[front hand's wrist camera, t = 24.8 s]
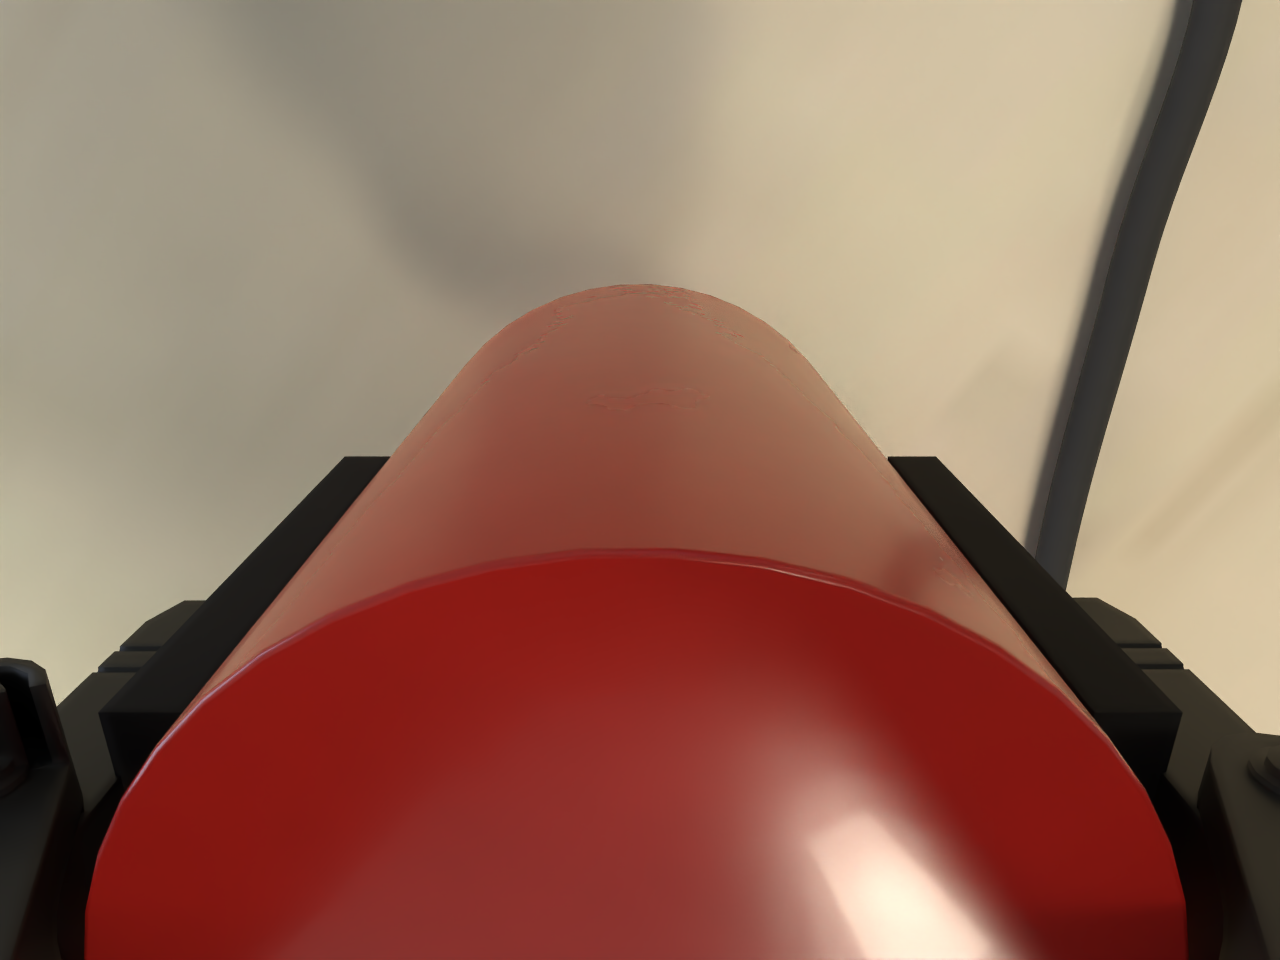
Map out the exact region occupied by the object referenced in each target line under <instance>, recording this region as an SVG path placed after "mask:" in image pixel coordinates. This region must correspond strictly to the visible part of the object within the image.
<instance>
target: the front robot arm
mask: <svg viewBox="0 0 1280 960" xmlns="http://www.w3.org/2000/svg"><path fill="white" fill-rule="evenodd" d="M1241 3H1242V0H1194V1H1193V5H1192V10H1191V14H1190V18H1189V23H1188V27H1187V30H1186V34H1185V37H1184V41H1183V44H1182V48H1181V51H1180V55H1179V58H1178V61H1177V64H1176V67H1175V70H1174V73H1173V77H1172V80H1171V83H1170V86H1169V89H1168V91H1167V94H1166V97H1165V100H1164V103H1163V106H1162V109H1161V111H1160V114H1159V117H1158V120H1157V123H1156V125H1155V128H1154V131H1153V134H1152V136H1151V139H1150V142H1149V145H1148V148H1147V150H1146V153H1145V156H1144V159H1143V161H1142V164H1141V167H1140V170H1139V173H1138V176H1137V179H1136V181H1135V184H1134V187H1133V190H1132V193H1131V196H1130V199H1129V202H1128V205H1127V208H1126V212H1125V215H1124V218H1123V221H1122V224H1121V228H1120V231H1119V234H1118V238H1117V242H1116V245H1115V249H1114V252H1113V256H1112V260H1111V263H1110V267H1109V271H1108V275H1107V279H1106V283H1105V286H1104V290H1103V294H1102V298H1101V302H1100V306H1099V309H1098V313H1097V317H1096V321H1095V324H1094V328H1093V332H1092V335H1091V339H1090V343H1089V346H1088V350H1087V354H1086V357H1085V361H1084V365H1083V368H1082V372H1081V376H1080V379H1079V383H1078V386H1077V390H1076V394H1075V397H1074V401H1073V405H1072V408H1071V412H1070V416H1069V419H1068V423H1067V427H1066V430H1065V434H1064V438H1063V442H1062V445H1061V449H1060V453H1059V457H1058V461H1057V465H1056V469H1055V473H1054V477H1053V481H1052V485H1051V489H1050V493H1049V497H1048V502H1047V506H1046V510H1045V515H1044V519H1043V524H1042V528H1041V533H1040V538H1039V542H1038V547H1037V552H1036V557H1035V559H1034V558H1033V557H1032V556H1031V555H1030V554H1029V553H1028V552H1027V551H1026V550H1025V548H1024V547H1023V546H1022V545H1021V544H1020V543H1019V542H1018V541H1017V540H1016V539H1015V538H1014V537H1013V536H1012V535H1011V534H1010V533H1009V532H1008V531H1007V530H1006V529H1005V528H1004V527H1003V526H1002V525H1001V524H1000V523H999V522H998V521H997V519H996V518H995V517H994V516H993V515H992V514H991V513H990V512H989V511H988V510H987V509H986V508H985V507H984V506H983V505H982V504H981V503H980V502H979V501H978V500H977V499H976V498H975V497H974V496H973V495H972V494H971V493H970V492H969V490H968V489H967V488H966V487H965V486H964V485H963V484H962V483H961V482H960V481H959V480H958V479H957V478H956V477H955V476H954V475H953V474H952V473H951V472H950V471H949V470H948V469H947V468H946V467H945V466H944V465H943V464H942V462H941V461H940V460H939V459H938V458H937V457H888V462H889V463H890V464H891V465H892V467H893V468H894V469H895V470H896V472H897V473H898V474H899V475H900V477H901V478H902V479H903V480H904V482H905V483H906V484H907V485H908V487H909V488H910V489H911V490H912V492H913V493H914V494H915V495H916V497H917V498H918V499H919V500H920V502H921V503H922V504H923V505H924V507H925V508H926V509H927V510H928V512H929V513H930V514H931V515H932V517H933V518H934V519H935V520H936V522H937V523H938V524H939V525H940V527H941V528H942V529H943V530H944V532H945V533H946V534H947V535H948V537H949V538H950V539H951V540H952V542H953V543H954V544H955V545H956V547H957V548H958V549H959V550H960V552H961V553H962V554H963V555H964V557H965V558H966V559H967V560H968V562H969V563H970V564H971V565H972V567H973V568H974V569H975V570H976V572H977V573H978V574H979V575H980V577H981V578H982V579H983V580H984V582H985V583H986V584H987V585H988V587H989V588H990V589H991V590H992V592H993V593H994V594H995V595H996V597H997V598H998V599H999V600H1000V602H1001V603H1002V604H1003V605H1004V607H1005V608H1006V609H1007V610H1008V612H1009V613H1010V614H1011V615H1012V617H1013V618H1014V619H1015V620H1016V622H1017V623H1018V624H1019V625H1020V627H1021V628H1022V629H1023V630H1024V632H1025V633H1026V634H1027V635H1028V637H1029V638H1030V639H1031V640H1032V642H1033V643H1034V644H1035V645H1036V647H1037V648H1038V649H1039V650H1040V652H1041V653H1042V654H1043V656H1044V657H1045V658H1046V659H1047V661H1048V662H1049V663H1050V664H1051V666H1052V667H1053V668H1054V669H1055V671H1056V672H1057V673H1058V674H1059V676H1060V677H1061V678H1062V679H1063V681H1064V682H1065V683H1066V684H1067V686H1068V687H1069V688H1070V689H1071V691H1072V692H1073V693H1074V694H1075V696H1076V697H1077V698H1078V699H1079V701H1080V702H1081V703H1082V704H1083V706H1084V707H1085V708H1086V709H1087V711H1088V712H1089V713H1090V714H1091V716H1092V717H1093V718H1094V719H1095V721H1096V722H1097V723H1098V724H1099V726H1100V727H1101V728H1102V729H1103V731H1104V732H1105V733H1106V734H1107V736H1108V737H1109V738H1110V740H1111V741H1112V743H1113V744H1114V745H1115V747H1116V748H1117V750H1118V751H1119V752H1120V754H1121V755H1122V757H1123V758H1124V759H1125V761H1126V762H1127V764H1128V765H1129V766H1130V768H1131V769H1132V771H1133V772H1134V773H1135V775H1136V776H1137V778H1138V779H1139V781H1140V782H1141V783H1142V785H1143V786H1144V788H1145V789H1146V791H1147V793H1148V795H1149V798H1150V800H1151V802H1152V804H1153V806H1154V808H1155V810H1156V813H1157V815H1158V817H1159V819H1160V821H1161V823H1162V825H1163V827H1164V830H1165V832H1166V834H1167V836H1168V838H1169V840H1170V842H1171V846H1172V850H1173V854H1174V858H1175V861H1176V865H1177V869H1178V873H1179V877H1180V881H1181V885H1182V889H1183V892H1184V896H1185V901H1186V915H1187V932H1188V948H1189V960H1280V736H1278V735H1270V734H1261V733H1256V732H1255V731H1254V730H1253V729H1251V728H1250V727H1249V726H1248V725H1247V724H1246V723H1245V722H1244V721H1243V720H1242V719H1241V718H1240V717H1239V716H1238V715H1237V714H1236V713H1235V712H1234V711H1232V710H1231V709H1230V708H1229V707H1228V706H1227V705H1226V704H1225V703H1224V702H1223V701H1222V700H1221V699H1220V698H1219V697H1218V696H1217V695H1216V694H1214V693H1213V692H1212V691H1211V690H1210V689H1209V688H1208V687H1207V686H1206V685H1205V684H1204V683H1203V682H1202V681H1201V680H1200V679H1199V678H1198V677H1197V676H1195V675H1194V674H1193V673H1192V672H1191V671H1190V670H1189V669H1184V668H1183V663H1182V662H1181V661H1180V660H1179V659H1177V658H1176V657H1175V656H1174V655H1173V654H1172V653H1171V652H1170V651H1169V650H1168V649H1167V648H1162V646H1161V644H1162V643H1161V642H1160V641H1158V640H1157V639H1156V638H1155V637H1154V636H1153V635H1152V634H1151V633H1150V632H1149V631H1148V630H1147V629H1146V628H1145V627H1144V626H1143V625H1142V624H1140V623H1139V622H1138V621H1137V620H1136V619H1135V618H1133V617H1131V616H1129V615H1128V614H1126V613H1124V612H1122V611H1120V610H1118V609H1117V608H1115V607H1113V606H1111V605H1109V604H1107V603H1106V602H1104V601H1102V600H1100V599H1098V598H1072V597H1071V596H1070V595H1069V594H1068V593H1067V592H1066V586H1067V582H1068V577H1069V573H1070V568H1071V564H1072V559H1073V555H1074V550H1075V546H1076V541H1077V537H1078V533H1079V529H1080V525H1081V520H1082V516H1083V512H1084V508H1085V504H1086V501H1087V497H1088V493H1089V489H1090V485H1091V482H1092V478H1093V474H1094V470H1095V467H1096V463H1097V460H1098V456H1099V452H1100V449H1101V445H1102V442H1103V438H1104V435H1105V431H1106V428H1107V424H1108V421H1109V418H1110V414H1111V411H1112V407H1113V404H1114V401H1115V397H1116V394H1117V390H1118V387H1119V384H1120V380H1121V377H1122V373H1123V370H1124V366H1125V363H1126V360H1127V356H1128V353H1129V349H1130V346H1131V342H1132V339H1133V336H1134V332H1135V329H1136V325H1137V322H1138V318H1139V314H1140V311H1141V307H1142V304H1143V300H1144V297H1145V293H1146V289H1147V286H1148V282H1149V279H1150V275H1151V271H1152V268H1153V264H1154V261H1155V258H1156V254H1157V251H1158V247H1159V244H1160V241H1161V237H1162V234H1163V231H1164V228H1165V225H1166V222H1167V219H1168V216H1169V213H1170V210H1171V207H1172V204H1173V201H1174V199H1175V196H1176V193H1177V190H1178V188H1179V185H1180V182H1181V179H1182V176H1183V174H1184V171H1185V168H1186V166H1187V163H1188V160H1189V158H1190V155H1191V153H1192V150H1193V147H1194V145H1195V142H1196V139H1197V137H1198V134H1199V131H1200V129H1201V126H1202V123H1203V121H1204V118H1205V116H1206V113H1207V110H1208V107H1209V105H1210V102H1211V99H1212V96H1213V94H1214V91H1215V88H1216V85H1217V83H1218V80H1219V77H1220V74H1221V71H1222V68H1223V65H1224V62H1225V59H1226V56H1227V53H1228V49H1229V46H1230V43H1231V39H1232V36H1233V33H1234V29H1235V26H1236V23H1237V19H1238V15H1239V11H1240V7H1241ZM389 458H390V457H344V458H343V459H342V460H341V461H340V462H339V463H338V464H337V465H336V466H335V467H334V468H333V469H332V470H331V471H330V472H329V473H328V475H327V476H326V477H325V478H324V479H323V480H322V481H321V482H320V483H319V484H318V485H317V486H316V487H315V488H314V489H313V490H312V491H311V492H310V493H309V494H308V495H307V496H306V497H305V498H304V499H303V500H302V501H301V503H300V504H299V505H298V506H297V507H296V508H295V509H294V510H293V511H292V512H291V513H290V514H289V515H288V516H287V517H286V518H285V519H284V520H283V521H282V522H281V523H280V524H279V525H278V526H277V527H276V528H275V529H274V530H273V532H272V533H271V534H270V535H269V536H268V537H267V538H266V539H265V540H264V541H263V542H262V543H261V544H260V545H259V546H258V547H257V548H256V549H255V550H254V551H253V552H252V553H251V554H250V555H249V556H248V557H247V558H246V560H245V561H244V562H243V563H242V564H241V565H240V566H239V567H238V568H237V569H236V570H235V571H234V572H233V573H232V574H231V575H230V576H229V577H228V578H227V579H226V580H225V581H224V582H223V583H222V584H221V585H220V586H219V587H218V589H217V590H216V591H215V592H214V593H213V594H212V595H211V596H210V597H209V598H208V599H207V600H206V601H183V602H181V603H179V604H177V605H175V606H174V607H172V608H170V609H168V610H166V611H164V612H163V613H161V614H159V615H157V616H155V617H154V618H152V619H150V620H148V621H146V622H145V623H144V624H143V625H142V626H141V627H140V628H139V629H138V630H137V631H136V632H135V633H134V634H133V635H131V636H130V637H129V638H128V639H127V640H126V641H125V642H124V643H123V644H122V645H121V646H120V651H115V652H114V653H113V654H112V655H110V656H109V657H108V658H107V659H106V660H105V661H104V662H103V663H102V664H101V665H100V666H99V667H98V672H97V673H92V674H91V675H90V676H88V677H87V678H86V679H85V680H84V681H83V682H82V683H81V684H80V685H79V686H78V687H77V688H76V689H75V690H74V691H73V692H72V693H71V694H70V695H69V696H67V697H66V698H65V699H64V700H63V701H62V702H61V703H60V704H59V705H58V706H57V707H56V704H55V700H54V697H53V694H52V690H51V687H50V684H49V680H48V677H47V674H46V670H45V669H44V668H42V667H41V666H39V665H37V664H36V663H34V662H33V661H30V660H22V659H14V658H0V960H84V937H85V910H86V905H87V900H88V896H89V891H90V886H91V882H92V877H93V873H94V868H95V864H96V859H97V855H98V851H99V848H100V846H101V844H102V841H103V839H104V837H105V834H106V832H107V830H108V827H109V825H110V823H111V820H112V818H113V816H114V814H115V811H116V809H117V807H118V804H119V802H120V800H121V797H122V796H123V794H124V793H125V791H126V790H127V788H128V787H129V785H130V784H131V782H132V781H133V779H134V778H135V776H136V775H137V773H138V772H139V770H140V769H141V767H142V766H143V764H144V763H145V761H146V760H147V758H148V757H149V755H150V754H151V752H152V751H153V749H154V748H155V746H156V745H157V743H158V742H159V741H160V740H161V738H162V737H163V736H164V735H165V734H166V732H167V731H168V730H169V729H170V727H171V726H172V725H173V724H174V722H175V721H176V720H177V719H178V718H179V716H180V715H181V714H182V713H183V711H184V710H185V709H186V708H187V707H188V705H189V704H190V703H191V702H192V700H193V699H194V698H195V697H196V695H197V694H198V693H199V692H200V691H201V689H202V688H203V687H204V686H205V684H206V683H207V682H208V681H209V679H210V678H211V677H212V676H213V675H214V673H215V672H216V671H217V670H218V668H219V667H220V666H221V665H222V664H223V662H224V661H225V660H226V659H227V657H228V656H229V655H230V654H231V652H232V651H233V650H234V649H235V648H236V646H237V645H238V644H239V643H240V641H241V640H242V639H243V638H244V637H245V635H246V634H247V633H248V632H249V630H250V629H251V628H252V627H253V625H254V624H255V623H256V622H257V621H258V619H259V618H260V617H261V616H262V614H263V613H264V612H265V611H266V609H267V608H268V607H269V606H270V605H271V603H272V602H273V601H274V600H275V598H276V597H277V596H278V595H279V594H280V592H281V591H282V590H283V589H284V587H285V586H286V585H287V584H288V582H289V581H290V580H291V579H292V578H293V576H294V575H295V574H296V573H297V571H298V570H299V569H300V568H301V566H302V565H303V564H304V563H305V562H306V560H307V559H308V558H309V557H310V555H311V554H312V553H313V552H314V551H315V549H316V548H317V547H318V546H319V544H320V543H321V542H322V541H323V539H324V538H325V537H326V536H327V535H328V533H329V532H330V531H331V530H332V528H333V527H334V526H335V525H336V524H337V522H338V521H339V520H340V519H341V517H342V516H343V515H344V514H345V512H346V511H347V510H348V509H349V508H350V506H351V505H352V504H353V503H354V501H355V500H356V499H357V498H358V496H359V495H360V494H361V493H362V492H363V490H364V489H365V488H366V487H367V485H368V484H369V483H370V482H371V481H372V479H373V478H374V477H375V476H376V474H377V473H378V472H379V471H380V469H381V468H382V467H383V466H384V465H385V463H386V462H387V461H388V460H389Z"/></svg>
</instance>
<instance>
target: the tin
mask: <svg viewBox="0 0 1280 960" xmlns="http://www.w3.org/2000/svg"><path fill="white" fill-rule="evenodd" d="M84 960H1189V948H1188V932H1187V915H1186V901H1185V896H1184V892H1183V889H1182V885H1181V881H1180V877H1179V873H1178V869H1177V865H1176V861H1175V858H1174V854H1173V850H1172V846H1171V842H1170V840H1169V838H1168V836H1167V834H1166V832H1165V830H1164V827H1163V825H1162V823H1161V821H1160V819H1159V817H1158V815H1157V813H1156V810H1155V808H1154V806H1153V804H1152V802H1151V800H1150V798H1149V795H1148V793H1147V791H1146V789H1145V788H1144V786H1143V785H1142V783H1141V782H1140V781H1139V779H1138V778H1137V776H1136V775H1135V773H1134V772H1133V771H1132V769H1131V768H1130V766H1129V765H1128V764H1127V762H1126V761H1125V759H1124V758H1123V757H1122V755H1121V754H1120V752H1119V751H1118V750H1117V748H1116V747H1115V745H1114V744H1113V743H1112V741H1111V740H1110V738H1109V737H1108V736H1107V734H1106V733H1105V732H1104V731H1103V729H1102V728H1101V727H1100V726H1099V724H1098V723H1097V722H1096V721H1095V719H1094V718H1093V717H1092V716H1091V714H1090V713H1089V712H1088V711H1087V709H1086V708H1085V707H1084V706H1083V704H1082V703H1081V702H1080V701H1079V699H1078V698H1077V697H1076V696H1075V694H1074V693H1073V692H1072V691H1071V689H1070V688H1069V687H1068V686H1067V684H1066V683H1065V682H1064V681H1063V679H1062V678H1061V677H1060V676H1059V674H1058V673H1057V672H1056V671H1055V669H1054V668H1053V667H1052V666H1051V664H1050V663H1049V662H1048V661H1047V659H1046V658H1045V657H1044V656H1043V654H1042V653H1041V652H1040V650H1039V649H1038V648H1037V647H1036V645H1035V644H1034V643H1033V642H1032V640H1031V639H1030V638H1029V637H1028V635H1027V634H1026V633H1025V632H1024V630H1023V629H1022V628H1021V627H1020V625H1019V624H1018V623H1017V622H1016V620H1015V619H1014V618H1013V617H1012V615H1011V614H1010V613H1009V612H1008V610H1007V609H1006V608H1005V607H1004V605H1003V604H1002V603H1001V602H1000V600H999V599H998V598H997V597H996V595H995V594H994V593H993V592H992V590H991V589H990V588H989V587H988V585H987V584H986V583H985V582H984V580H983V579H982V578H981V577H980V575H979V574H978V573H977V572H976V570H975V569H974V568H973V567H972V565H971V564H970V563H969V562H968V560H967V559H966V558H965V557H964V555H963V554H962V553H961V552H960V550H959V549H958V548H957V547H956V545H955V544H954V543H953V542H952V540H951V539H950V538H949V537H948V535H947V534H946V533H945V532H944V530H943V529H942V528H941V527H940V525H939V524H938V523H937V522H936V520H935V519H934V518H933V517H932V515H931V514H930V513H929V512H928V510H927V509H926V508H925V507H924V505H923V504H922V503H921V502H920V500H919V499H918V498H917V497H916V495H915V494H914V493H913V492H912V490H911V489H910V488H909V487H908V485H907V484H906V483H905V482H904V480H903V479H902V478H901V477H900V475H899V474H898V473H897V472H896V470H895V469H894V468H893V467H892V465H891V464H890V463H889V462H888V460H887V459H886V458H885V457H884V455H883V454H882V453H881V451H880V450H879V449H878V448H877V446H876V445H875V444H874V443H873V441H872V440H871V439H870V438H869V436H868V435H867V434H866V433H865V431H864V430H863V429H862V428H861V426H860V425H859V424H858V423H857V421H856V420H855V419H854V418H853V416H852V415H851V414H850V413H849V411H848V410H847V409H846V408H845V406H844V405H843V404H842V403H841V401H840V400H839V399H838V398H837V396H836V395H835V394H834V393H833V391H832V390H831V389H830V388H829V386H828V385H827V384H826V383H825V381H824V380H823V379H822V378H821V376H820V375H819V374H818V373H817V371H816V370H815V369H814V368H813V366H812V365H811V364H810V363H809V361H808V360H807V359H806V358H805V357H804V356H803V355H802V354H801V353H800V352H799V351H798V350H797V349H796V348H795V347H794V346H793V345H792V344H791V343H790V342H789V341H788V340H787V339H786V338H785V337H783V336H782V335H781V334H779V333H778V332H777V331H776V330H774V329H773V328H772V327H771V326H769V325H768V324H767V323H765V322H764V321H762V320H760V319H759V318H757V317H755V316H753V315H752V314H750V313H748V312H747V311H745V310H743V309H741V308H740V307H737V306H735V305H732V304H730V303H728V302H725V301H723V300H720V299H718V298H715V297H713V296H710V295H706V294H702V293H699V292H695V291H691V290H687V289H683V288H677V287H669V286H661V285H652V284H639V285H615V286H608V287H601V288H594V289H589V290H585V291H582V292H578V293H575V294H571V295H568V296H564V297H561V298H558V299H556V300H554V301H552V302H549V303H547V304H545V305H542V306H540V307H538V308H536V309H533V310H532V311H530V312H528V313H527V314H525V315H523V316H522V317H520V318H519V319H517V320H515V321H514V322H512V323H510V324H509V325H507V326H506V327H505V328H504V329H502V330H501V331H500V332H499V333H498V334H496V335H495V336H494V337H493V338H491V339H490V340H489V341H488V342H487V343H485V344H484V345H483V347H482V348H481V349H480V350H479V351H478V352H477V353H476V354H475V355H474V356H473V357H472V358H471V360H470V361H469V362H468V363H467V364H466V365H465V366H464V368H463V369H462V370H461V371H460V372H459V374H458V375H457V376H456V377H455V379H454V380H453V381H452V382H451V383H450V385H449V386H448V387H447V388H446V390H445V391H444V392H443V393H442V395H441V396H440V397H439V398H438V399H437V401H436V402H435V403H434V404H433V406H432V407H431V408H430V409H429V411H428V412H427V413H426V414H425V415H424V417H423V418H422V419H421V420H420V422H419V423H418V424H417V425H416V426H415V428H414V429H413V430H412V431H411V433H410V434H409V435H408V436H407V438H406V439H405V440H404V441H403V442H402V444H401V445H400V446H399V447H398V449H397V450H396V451H395V452H394V453H393V455H392V456H391V457H390V458H389V460H388V461H387V462H386V463H385V465H384V466H383V467H382V468H381V469H380V471H379V472H378V473H377V474H376V476H375V477H374V478H373V479H372V481H371V482H370V483H369V484H368V485H367V487H366V488H365V489H364V490H363V492H362V493H361V494H360V495H359V496H358V498H357V499H356V500H355V501H354V503H353V504H352V505H351V506H350V508H349V509H348V510H347V511H346V512H345V514H344V515H343V516H342V517H341V519H340V520H339V521H338V522H337V524H336V525H335V526H334V527H333V528H332V530H331V531H330V532H329V533H328V535H327V536H326V537H325V538H324V539H323V541H322V542H321V543H320V544H319V546H318V547H317V548H316V549H315V551H314V552H313V553H312V554H311V555H310V557H309V558H308V559H307V560H306V562H305V563H304V564H303V565H302V566H301V568H300V569H299V570H298V571H297V573H296V574H295V575H294V576H293V578H292V579H291V580H290V581H289V582H288V584H287V585H286V586H285V587H284V589H283V590H282V591H281V592H280V594H279V595H278V596H277V597H276V598H275V600H274V601H273V602H272V603H271V605H270V606H269V607H268V608H267V609H266V611H265V612H264V613H263V614H262V616H261V617H260V618H259V619H258V621H257V622H256V623H255V624H254V625H253V627H252V628H251V629H250V630H249V632H248V633H247V634H246V635H245V637H244V638H243V639H242V640H241V641H240V643H239V644H238V645H237V646H236V648H235V649H234V650H233V651H232V652H231V654H230V655H229V656H228V657H227V659H226V660H225V661H224V662H223V664H222V665H221V666H220V667H219V668H218V670H217V671H216V672H215V673H214V675H213V676H212V677H211V678H210V679H209V681H208V682H207V683H206V684H205V686H204V687H203V688H202V689H201V691H200V692H199V693H198V694H197V695H196V697H195V698H194V699H193V700H192V702H191V703H190V704H189V705H188V707H187V708H186V709H185V710H184V711H183V713H182V714H181V715H180V716H179V718H178V719H177V720H176V721H175V722H174V724H173V725H172V726H171V727H170V729H169V730H168V731H167V732H166V734H165V735H164V736H163V737H162V738H161V740H160V741H159V742H158V743H157V745H156V746H155V748H154V749H153V751H152V752H151V754H150V755H149V757H148V758H147V760H146V761H145V763H144V764H143V766H142V767H141V769H140V770H139V772H138V773H137V775H136V776H135V778H134V779H133V781H132V782H131V784H130V785H129V787H128V788H127V790H126V791H125V793H124V794H123V796H122V797H121V800H120V802H119V804H118V807H117V809H116V811H115V814H114V816H113V818H112V820H111V823H110V825H109V827H108V830H107V832H106V834H105V837H104V839H103V841H102V844H101V846H100V848H99V851H98V855H97V859H96V864H95V868H94V873H93V877H92V882H91V886H90V891H89V896H88V900H87V905H86V910H85V937H84Z"/></svg>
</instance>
